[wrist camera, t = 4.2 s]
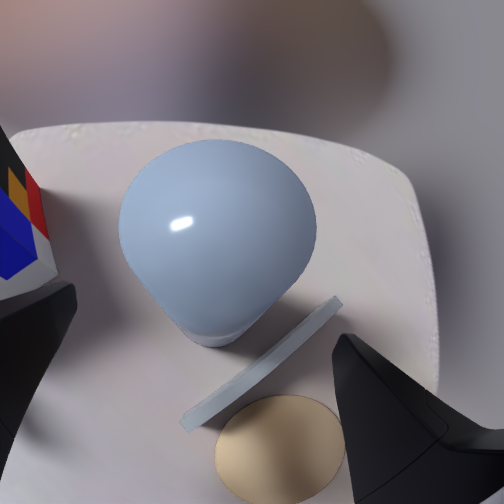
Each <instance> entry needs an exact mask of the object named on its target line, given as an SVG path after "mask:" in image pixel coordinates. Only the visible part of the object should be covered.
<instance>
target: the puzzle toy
mask: <svg viewBox="0 0 504 504" xmlns="http://www.w3.org/2000/svg"><path fill="white" fill-rule="evenodd" d="M58 275H59V274H58V271H57V268H56V264H55V261H54V257H53V253H52V249H51V245H50V241H49V237H48V233H47V228H46V224H45V219H44V213H43V208H42V202H41V196H40V189H39V186H38V185H37V183H36V182H35V181H34V179H33V178H32V176H31V175H30V173H29V172H28V170H27V169H26V167H25V166H24V164H23V163H22V161H21V160H20V158H19V156H18V155H17V153H16V152H15V150H14V148H13V147H12V145H11V143H10V142H9V140H8V139H7V137H6V135H5V133H4V131H3V130H2V128H1V126H0V300H3V299H7V298H10V297H13V296H16V295H19V294H22V293H26V292H29V291H32V290H35V289H37V288H39V287H40V286H42V285H43V284H45V283H46V282H48V281H50V280H51V279H53V278H54V277H56V276H58Z"/></svg>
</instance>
